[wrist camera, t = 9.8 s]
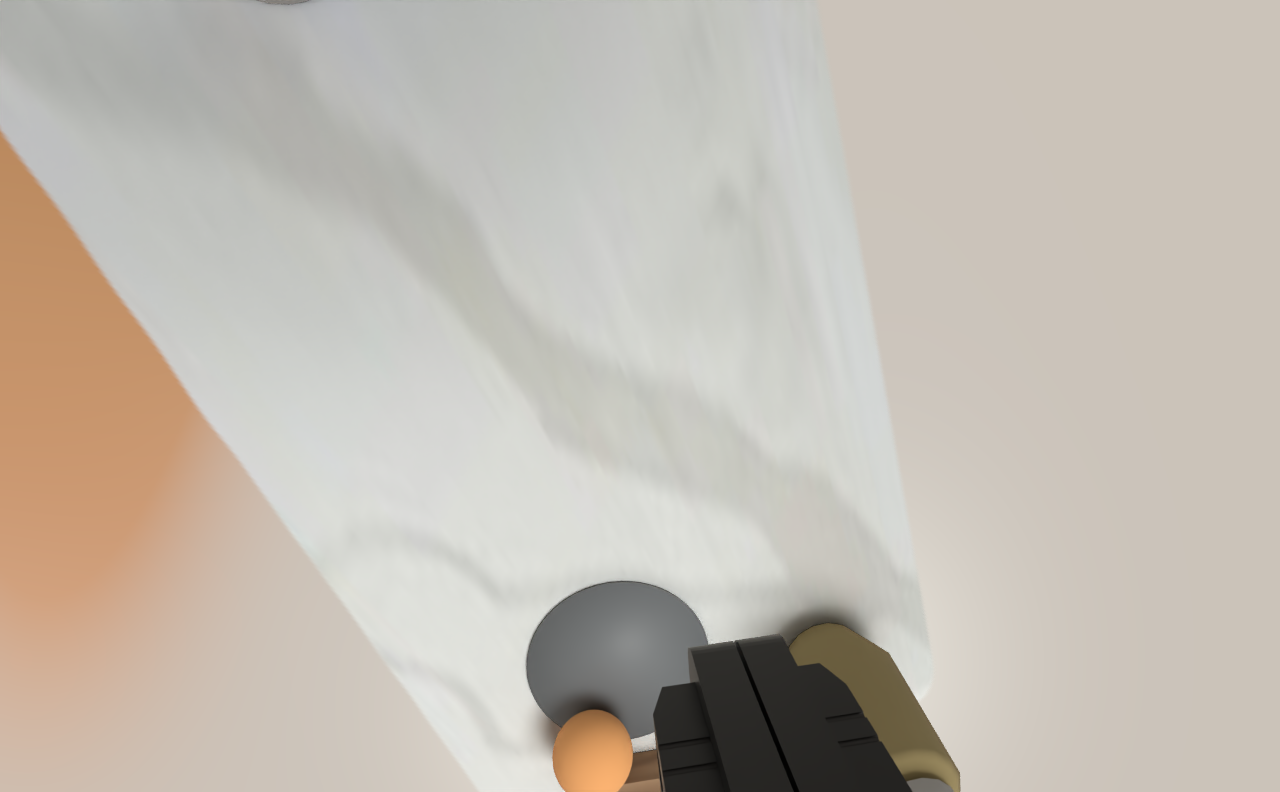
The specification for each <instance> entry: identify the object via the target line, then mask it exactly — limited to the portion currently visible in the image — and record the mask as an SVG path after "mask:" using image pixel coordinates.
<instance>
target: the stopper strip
mask: <svg viewBox="0 0 1280 792" xmlns="http://www.w3.org/2000/svg"><path fill="white" fill-rule="evenodd" d="M618 792H661V789H660V779H659V769H658V760H657V750H652V751H645V752H639V753H633V760H632V766H631V770H630V773H629V775H628V778H627V780H626V781H625V783H624V785H623V786H622V787H621V788H620V790H619V791H618Z"/></svg>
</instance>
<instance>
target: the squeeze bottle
mask: <svg viewBox="0 0 1280 792" xmlns="http://www.w3.org/2000/svg"><path fill="white" fill-rule="evenodd" d="M789 650H790V652H791V654H792V656H793V658H794V660H795V662H796V664H797V665H798V666H802V665H809V664H815V663H820V664H822V665H823V666H824V667H825V668H827V669H828V670H829V671H830V672H832V673H833V674H834V675H836V676H837V677H838V678H839V679H841V680H842V681H843V682H844V683H846V684H847V686H848V687H849V689H850V691H851V692H852V694H853V696H854V697H855V699H856V700H857V702H858V704H859V705H860V707H861V709H862V710H863V713H864V716H865V717H867V718H868V720H869V722H870V723H871V725H872V726H873V728H874V730H875V731H876V733H877V735H878V739H879V741H882V743H883V744H884V746H885V748H886V749H887V751H888V752H889V754H890V756H891V757H892V759H893V761H894V762H895V764H896V766H897V767H898V769H899V770H900V772H901V774H902V775H903V777H904V779H905V780H906V782H907V783H908V785H909V787H910V788H911V790H912V792H960V772H959V771H958V769H957V767H956V766H955V764H954V762H953V760H952V759H951V757H950V756H949V754H948V752H947V750H946V749H945V747H944V745H943V744H942V742H941V740H940V739H939V737H938V735H937V733H936V732H935V730H934V728H933V727H932V725H931V723H930V722H929V720H928V718H927V717H926V715H925V713H924V711H923V710H922V708H921V706H920V705H919V703H918V701H917V700H916V698H915V696H914V695H913V693H912V691H911V689H910V688H909V686H908V684H907V683H906V681H905V679H904V678H903V676H902V674H901V673H900V671H899V669H898V668H897V666H896V664H895V663H894V661H893V659H892V658H891V656H890V654H889V653H888V652H886V651H885V650H883V649H882V648H880V647H878V646H877V645H875V644H874V643H872V642H870V641H869V640H867V639H865V638H864V637H862V636H860V635H859V634H857V633H855V632H854V631H852V630H850V629H848V628H847V627H845V626H843V625H839V624H832V623H825V624H820V625H816V626H812V627H811V628H809V629H807V630H806V631H804V632H802V633H801V634H799V635H798V636H797V638H796V639H795V640H794V641H793V643H792V644H791V645H790V646H789Z"/></svg>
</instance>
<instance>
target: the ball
mask: <svg viewBox="0 0 1280 792" xmlns="http://www.w3.org/2000/svg"><path fill="white" fill-rule="evenodd" d="M552 758H553V768H554V772H555V775H556V778H557V780H558V782H559V784H560V785H561V787H562V788H563V789H564V791H565V792H618V791H619V790H620V788H621V787H622V786H623V785H624V783H625V781H626V780H627V778H628V775H629V773H630V770H631V766H632V760H633V750H632V743H631V739H630V736H629V734H628V732H627V730H626V728H625V726H624V725H623V724H622V723H621V721H620V720H619V719H618V718H616V717H615V716H614V715H612V714H610V713H608V712H606V711H602V710H586V711H583V712H580V713H578V714H576V715H574V716H573V717H572V718H570V719H569V720H568V721H567V722H566V723H565V724H564V726H563V727H562V728H561V730H560V732H559V733H558V735H557V738H556V740H555V744H554V748H553V757H552Z"/></svg>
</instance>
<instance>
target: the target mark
mask: <svg viewBox="0 0 1280 792" xmlns="http://www.w3.org/2000/svg"><path fill="white" fill-rule="evenodd" d="M703 645H708V641H707V638H706V634H705V631H704V629H703V627H702V625H701V623H700V621H699V619H698V618H697V616H696V615H695V613H694V612H693V611H692V610H691V609H690V608H689V607H688V605H687V604H685V603H684V602H683V601H682V600H680V599H679V598H678V597H676V596H675V595H673V594H671V593H670V592H668V591H666V590H663V589H661V588H659V587H656V586H652V585H649V584H644V583H638V582H623V581H622V582H610V583H605V584H599V585H596V586H593V587H589V588H586V589H584V590H582V591H580V592H577V593H575V594H573V595H572V596H570V597H569V598H567V599H565V600H564V601H562V602H561V603H560V604H559V605H557V606H556V607H555V608H554V609H553V610H552V611H551V612H550V613H549V614H548V615H547V616H546V617H545V619H544V620H543V621H542V623H541V624H540V625H539V627H538V629H537V631H536V632H535V634H534V636H533V639H532V642H531V644H530V648H529V652H528V658H527V677H528V682H529V686H530V689H531V692H532V694H533V697H534V699H535V700H536V702H537V704H538V705H539V707H540V708H541V709H542V711H543V712H544V713H545V714H546V715H547V716H548V717H549V718H550V719H551V720H552V721H553V722H555V723H556V724H557V725H559V726H560V727H563V726H564V724H565V723H566V722H567V721H568V720H569V719H570V718H572V717H573V716H574V715H576V714H578V713H580V712H583V711H586V710H602V711H606V712H608V713H610V714H612V715H614V716H615V717H616V718H618V719H619V720H620V721H621V723H622V724H623V725H624V726H625V728H626V730H627V732H628V734H629V736H630V739H634V738H638V737H642V736H645V735H648V734H651V733H653V732H655V730H654V721H653V713H654V710H655V707H656V704H657V701H658V698H659V695H660V692H661V689H662V687H666V686H673V685H679V684H686V683H690V676H689V663H688V648H689V647H696V646H703Z"/></svg>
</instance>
